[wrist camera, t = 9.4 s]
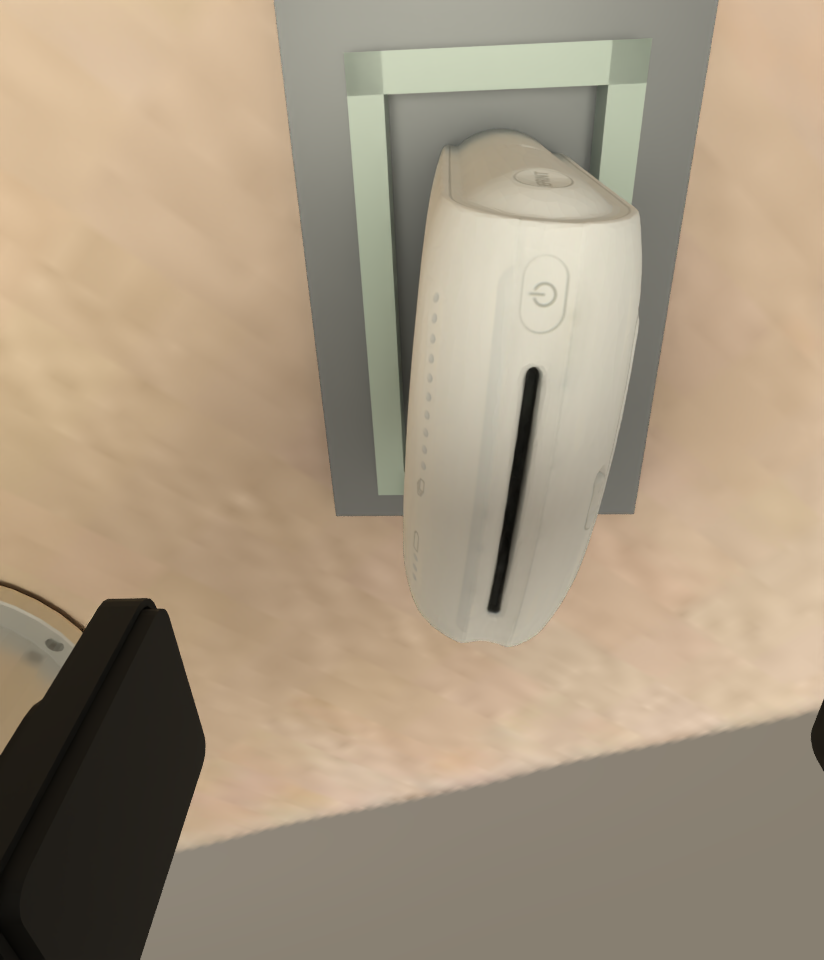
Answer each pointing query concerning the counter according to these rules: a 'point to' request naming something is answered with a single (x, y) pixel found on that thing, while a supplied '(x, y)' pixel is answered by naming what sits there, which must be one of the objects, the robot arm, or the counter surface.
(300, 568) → the counter surface
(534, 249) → the photo printer
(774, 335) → the counter surface
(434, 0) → the dock
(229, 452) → the counter surface
